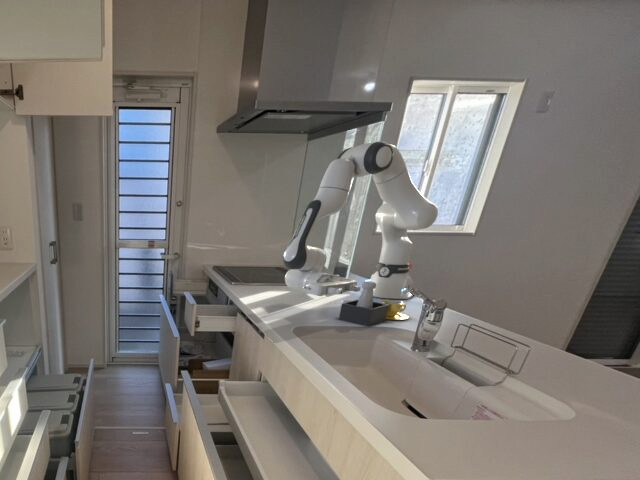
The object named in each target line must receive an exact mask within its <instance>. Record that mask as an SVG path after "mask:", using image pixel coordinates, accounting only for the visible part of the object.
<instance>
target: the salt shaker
mask: <svg viewBox="0 0 640 480" xmlns="http://www.w3.org/2000/svg"><path fill="white" fill-rule="evenodd" d="M361 288H362V291H361V293H360V296H359V298H358V299H357V300H358V303H357V305H356V306H359V307H364V308H369V309H372V308H373V302H374V296H373V289H375V288H376V283H375V282H373V281H366V280H365V281H364V282H362V284H361Z"/></svg>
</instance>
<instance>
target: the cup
mask: <svg viewBox="0 0 640 480" xmlns="http://www.w3.org/2000/svg"><path fill="white" fill-rule="evenodd" d="M382 304H388V305H389V308H388V312H387V315H386V319H385V320H392V321H393V320H395V321H404V320H409V318H410V316H409V315H407V314H404V313H402V312H404V311H405V310H406V309H407V304H405V303H404V302H403V301H399V300H395V299H393V300H392V299H384V300H383V301H382Z"/></svg>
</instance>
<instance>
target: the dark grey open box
mask: <svg viewBox="0 0 640 480" xmlns="http://www.w3.org/2000/svg"><path fill="white" fill-rule="evenodd" d="M358 300H359V299H355V300H350V301H346V302H343V303H341V306H340V311H339V316H338V320H341V321H344V322H345V321H346V322H350V323H354V324H357V325H362V326H367V327H368V326H369V327H370V326H372V325H375V324H378V323H382V322H385V321H386V320H387V319H386V315H387V312H388V308H389V305H388V304H383V302H376V301H373V308H372V309H369V308H364V307H359V306H356V305H357V303H358Z"/></svg>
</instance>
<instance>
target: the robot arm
mask: <svg viewBox="0 0 640 480" xmlns="http://www.w3.org/2000/svg"><path fill="white" fill-rule="evenodd" d="M401 153H402V152H400V150H399V149H398V147H397V146H396V145H394V144H391V143H388V142H386V141H375V142H366V143H361V144H359V145H356V146H350V147H348V148H346V149H344V150H343V151H341V152H340V153H339V155H338V156H337V157H336V159H334V160H332V161H331V162H330V163H329V165H328V167H327V169H326V170H325V173H323V174H324V175H323V177H322V179H321V182H320V184H319V187H318V191H317V193H316V195H315V197H314V198H313V200H312V201H310V202H309V203H308V204H307V205H306V207H305V209H304V211H303V213H302V215H301V218H300V219H299V221H298V224H297V226H296V229H295V231H294V233H293V236H292V238H291V240H290V241H289V243H288V245H287V246H286V247H285V250H284V251H283V253H282V260H283V265H284V266H285V267H286V268H287V269H288V270H287V272H286V273H285V276H284V282H285V285H286V286H287V287H288V288H290V289H291V290H293V291H296V292H300V293H307V294H309V295H313V296H316V297H324V296H326V295H342V294H343V293H348V292H356V293H358V292H361V286H357V285H358V281H356V280H355V279H352V278H348V277H343V276H340V274H330V273H325V272H323V270H324V267H325V266H326V262H327V253H326V251H325V250H324V249H322V248H320V247H315V246H312V245H308V242H309V239H310V237H311V235H312V232H313V230H314V228H315V226H316V224H317V223H318V222H319V220H321V219H323V218H326V217H329V216H332V215H335V214H336V213H338V212H340V211H341V210H342V209H343V208H344V206H345V204H346V203H347V200H348V198H349V195H350V192H351V188H352V186H353V185H352V184H353V181H354V180H355V179H356V178H361V177H364V176H370V175H372V180H373V182H374V185H375V187H376V189H377V190H376V191H377V192H378V195H379V198H380V199H381V200H382V202H384V203H383V204H382V205H380V206H379V208H378V209H377V211H376V213H375V222H376V224H377V225H378V226H379V229H380V231H381V237H382V238H381V239H382V244H381V250H380V255H379V259H378V261H377V264H376V265H375V272H374V273H372V275H371V277H370V279H366V280H365V281H373V282H375V283H376V288H375V289H373V298H374V297H375V298H380V299H381V298H382V299H389V300H392V299H393V300H396V299H397V300H398V299H399V300H409V299H411V298H412V297H413V295H412V294H411V293H410V290H411V291H412V289H413V288H412V287H413V283H414V281H413V279H412V277H411V275H410V274H409V272H410V269H412V267H413V263H410V262H409V261H410V258H411V254H412V252H413V242H412V241H411V240H410V239H409V236H408V231H419V230H424V229H428V228H430V227H431V226H432V225H433V224H434V223H435V222H436V220H437V219H438V216H439V208H438V206H437V205H436V204H435V203H433V202H432V201H430V200H428V199H427V198H426V197H425V196H424V195H423V194H422V193H421V192H420V191H419V190H418V188H417V187H416V186H415V183H413V181H412V178H411V175H410V172H409V170H408V167H407V164H406V162H405V159H404V157H403V155H402V154H401Z"/></svg>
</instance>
